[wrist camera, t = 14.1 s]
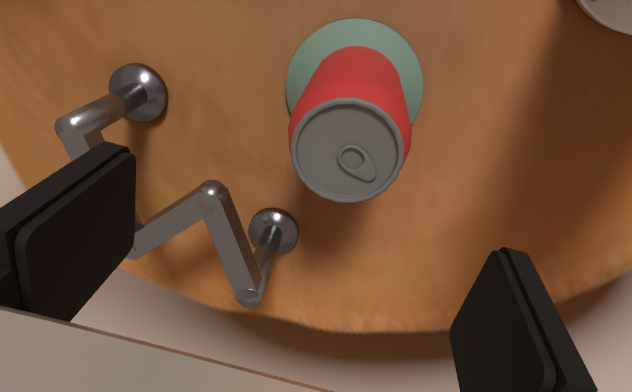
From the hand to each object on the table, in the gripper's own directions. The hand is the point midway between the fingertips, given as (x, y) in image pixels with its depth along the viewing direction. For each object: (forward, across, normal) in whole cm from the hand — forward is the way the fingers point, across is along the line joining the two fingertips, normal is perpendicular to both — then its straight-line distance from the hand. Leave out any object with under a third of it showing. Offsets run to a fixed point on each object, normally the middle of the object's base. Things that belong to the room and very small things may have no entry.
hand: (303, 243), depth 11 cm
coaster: (+23, -1, +2) cm, 23 cm away
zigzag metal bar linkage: (+23, +9, +10) cm, 26 cm away
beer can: (+22, -1, +2) cm, 23 cm away
